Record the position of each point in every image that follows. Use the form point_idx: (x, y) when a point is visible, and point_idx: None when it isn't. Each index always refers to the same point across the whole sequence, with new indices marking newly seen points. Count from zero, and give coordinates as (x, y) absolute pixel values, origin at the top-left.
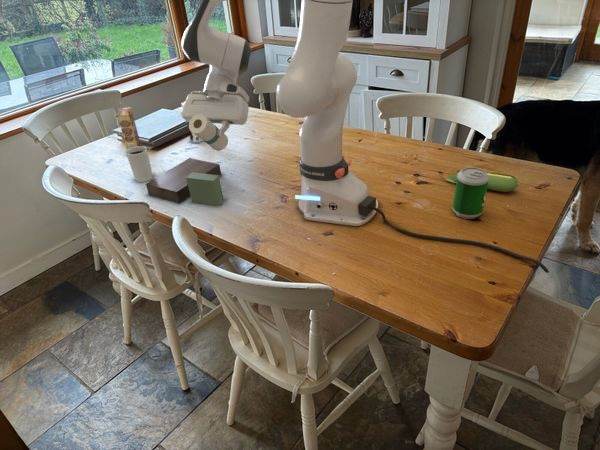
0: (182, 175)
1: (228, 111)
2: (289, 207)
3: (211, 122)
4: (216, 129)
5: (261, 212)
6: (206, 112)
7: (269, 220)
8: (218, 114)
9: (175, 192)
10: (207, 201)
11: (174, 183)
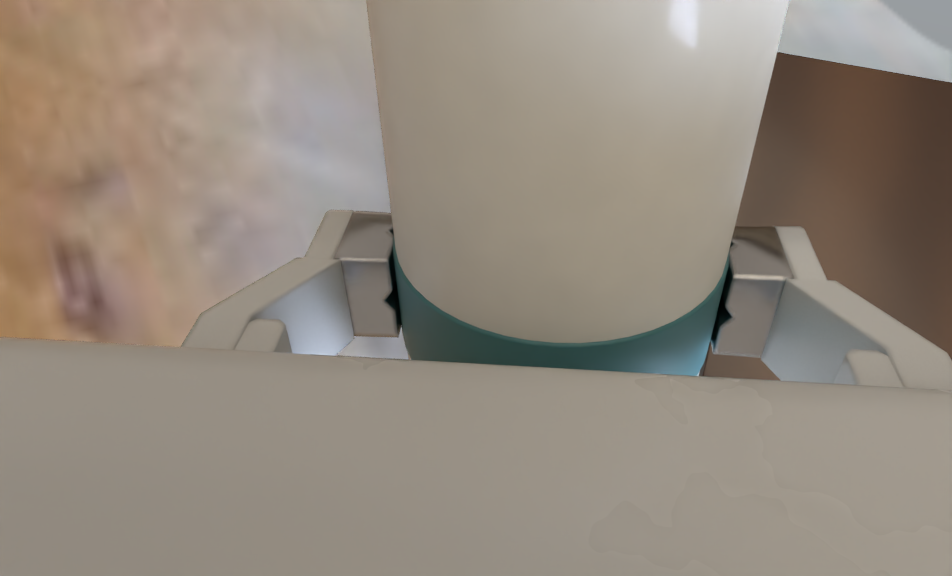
0: (888, 312)
1: (16, 477)
2: (25, 197)
3: (431, 205)
4: (397, 260)
5: (169, 109)
6: (681, 476)
7: (99, 41)
8: (314, 419)
9: (781, 55)
10: None
11: (872, 168)
